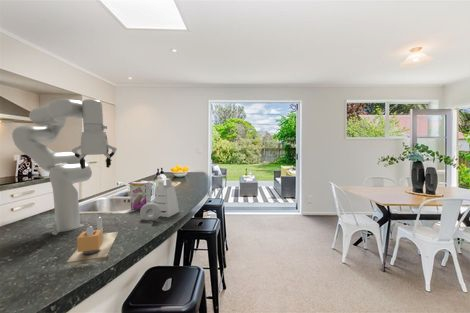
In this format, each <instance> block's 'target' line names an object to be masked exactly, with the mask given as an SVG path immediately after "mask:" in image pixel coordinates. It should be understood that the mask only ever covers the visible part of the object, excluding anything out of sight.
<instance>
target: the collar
mask: <svg viewBox="0 0 470 313" xmlns="http://www.w3.org/2000/svg"><path fill="white" fill-rule="evenodd" d="M93 231H94V235H88V236H87V233H86V231H82V232H81V233H80V234H79V235H78V236H77V238H76V241H77V242H76V245H77V248H78V252H83V251H91V250H98V249H99V248H100V246H101V245H102V243H103V237H102V230H97V229H96V230H95V229H93Z"/></svg>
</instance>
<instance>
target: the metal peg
mask: <svg viewBox="0 0 470 313" xmlns="http://www.w3.org/2000/svg"><path fill="white" fill-rule="evenodd" d="M85 230H86V233H87V236H88V235H94V231H93V230H94V226H90V225H89V226H87V227H86V229H85ZM98 252H99V249H98V250H91V251H83V255H84V256H89V255H94V254H96V253H98Z"/></svg>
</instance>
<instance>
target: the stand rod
mask: <svg viewBox="0 0 470 313" xmlns="http://www.w3.org/2000/svg"><path fill="white" fill-rule="evenodd" d="M96 230H102V237H103V233H104V229H103V218H102V216H97V218H96Z"/></svg>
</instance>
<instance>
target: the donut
mask: <svg viewBox="0 0 470 313" xmlns="http://www.w3.org/2000/svg"><path fill="white" fill-rule="evenodd" d="M157 204H158V203H157ZM157 204H155V203H154V202H150V203H147V204H145V205H144V206H143V207H142V208H141V209H139V214H140V215H139V216H140V218H141V219H142V220H143V221H152V222H155V221H157V219H159V217H160V216H159V215H160V208H159V206H158V205H157ZM149 210H152V211H154V213H153V212H152V214H150V215H149V214H148V211H149Z"/></svg>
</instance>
